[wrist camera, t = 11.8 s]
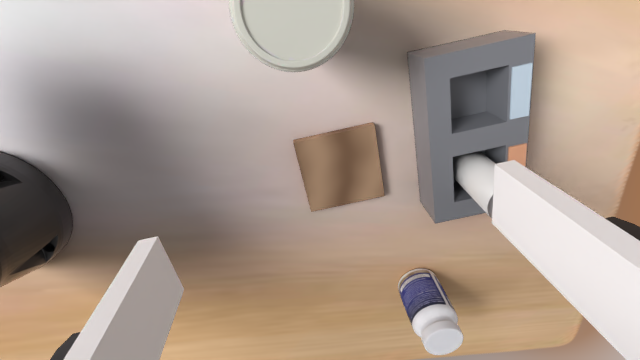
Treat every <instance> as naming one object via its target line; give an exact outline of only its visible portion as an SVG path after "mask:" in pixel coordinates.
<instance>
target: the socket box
mask: <svg viewBox="0 0 640 360" xmlns="http://www.w3.org/2000/svg"><path fill="white" fill-rule="evenodd" d="M535 34H536V33H528V32H517V31H506V30H504V31H499V32H495V33H490V34H486V35H482V36H477V37H473V38H469V39H464V40H460V41H455V42H451V43H447V44H442V45H438V46H433V47H429V48H425V49H420V50H416V51H411V52H407V55H408V67H409V78H410V90H411V101H412V112H413V124H414V135H415V147H416V158H417V169H418V181H419V192H420V202H421V203H422V205H423V206H424V208H425V209H426V211H427V212H428V214H429V215H430V217H431V218H432V220H433V221H434V223H440V222H444V221H449V220H454V219H458V218H463V217H468V216H472V215H477V214H482V213H486V212H485V211H484V210H483V209H482V208H481V207H480V206H479V205H478V204H477V202H476V201H475V200H474V199H473V198H472V197H471V196H470V195H469V194H468V193H467V192H466V191H465V190H464V189H463V187H462V186H461V185H460V184H459V183H458V182H457V181H456V180H455V179H454V178H453V157H455V156H459V155H464V154H468V153H473V152H477V151H480V152H481V153H483V154H484V155H485V156H487V157H488V158H489V159H491V160H492V161H493V162H494V163H496V164H497V163H502V162H507V161H511V160H515V161H517V162H518V163H520V164H521V165H523V166H525V167H526V162H527V147H528V133H529V119H530V105H531V91H532V76H533V62H534V48H535Z"/></svg>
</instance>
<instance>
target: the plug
mask: <svg viewBox="0 0 640 360" xmlns="http://www.w3.org/2000/svg"><path fill="white" fill-rule="evenodd" d="M495 164H496V163H494V162H493V161H492V160H491V159H489V158H488V157H487V156H485V155H484V154H483V153H481V152H480V151H477V152H473V153H468V154H464V155H459V156H455V157H453V178H454V179H455V180H456V181H457V182H458V183H459V184H460V185H461V186H462V187H463V189H464V190H465V191H466V192H467V193H468V194H469V195H470V196H471V197H472V198H473V199H474V200H475V201H476V202H477V204H478V205H479V206H480V207H481V208H482V209H483V210H484V211H485V212H486V213H487V214H488V215H489V216H490V217H491V218H492V210H493V189H494V168H495Z"/></svg>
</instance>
